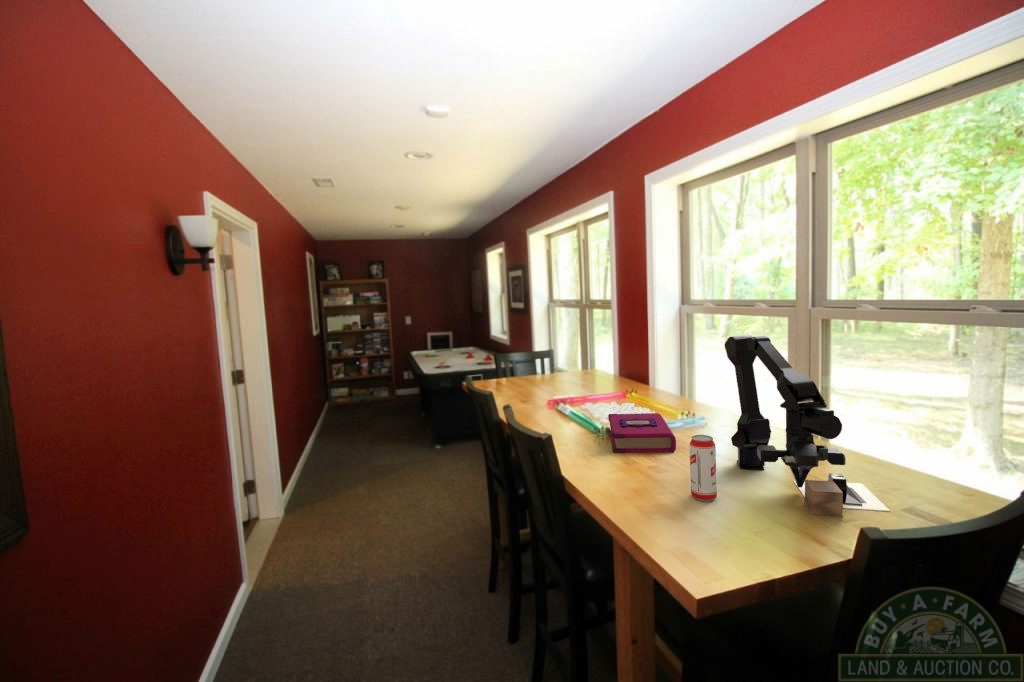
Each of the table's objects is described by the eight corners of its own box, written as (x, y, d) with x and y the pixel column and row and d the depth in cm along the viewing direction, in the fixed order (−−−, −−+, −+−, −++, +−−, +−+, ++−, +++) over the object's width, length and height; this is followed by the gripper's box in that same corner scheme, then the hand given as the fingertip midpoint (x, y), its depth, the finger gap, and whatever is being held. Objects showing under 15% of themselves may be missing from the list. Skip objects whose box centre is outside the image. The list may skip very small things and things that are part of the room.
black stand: (862, 506, 111) (862, 487, 110) (826, 503, 113) (826, 484, 113) (846, 485, 122) (846, 468, 122) (813, 482, 125) (813, 466, 124)
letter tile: (810, 506, 112) (810, 504, 112) (792, 480, 128) (792, 479, 128) (890, 511, 108) (890, 510, 107) (861, 484, 123) (861, 483, 123)
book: (662, 430, 183) (662, 411, 182) (676, 453, 156) (675, 431, 155) (608, 431, 186) (607, 412, 186) (612, 454, 159) (611, 432, 158)
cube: (812, 515, 108) (812, 490, 107) (804, 503, 114) (804, 479, 113) (842, 517, 106) (842, 492, 105) (833, 504, 112) (833, 481, 111)
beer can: (715, 493, 123) (714, 434, 121) (718, 503, 117) (716, 441, 115) (690, 491, 125) (688, 433, 123) (691, 501, 119) (689, 440, 118)
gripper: (764, 436, 114) (765, 497, 115) (854, 438, 108) (854, 503, 109) (756, 423, 124) (757, 480, 126) (837, 425, 119) (837, 484, 120)
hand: (799, 486), depth 120 cm, fingers closed
